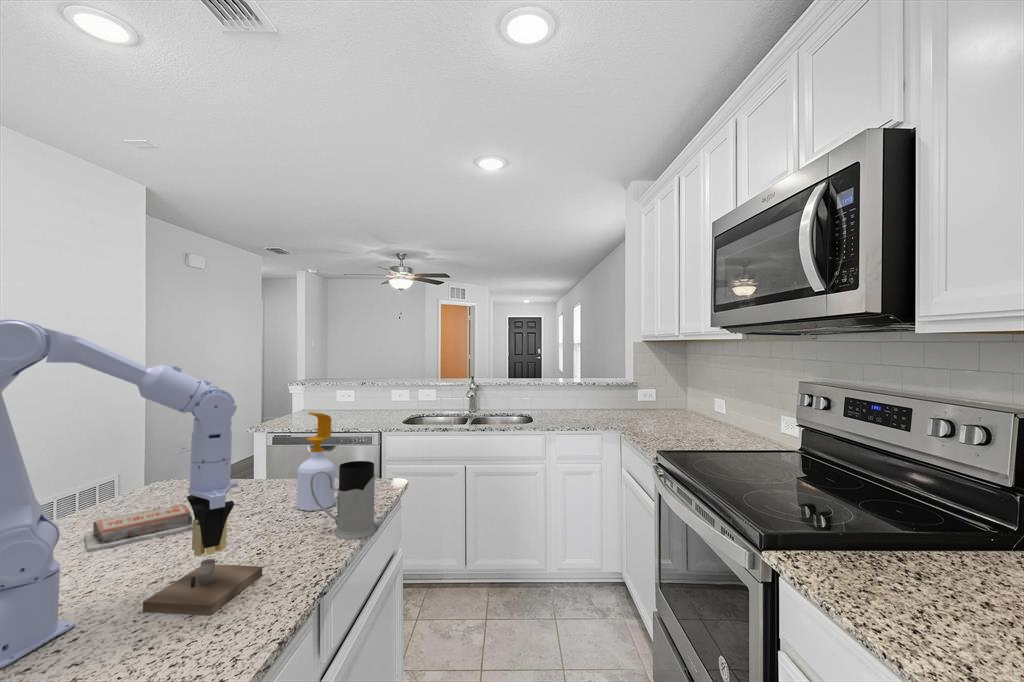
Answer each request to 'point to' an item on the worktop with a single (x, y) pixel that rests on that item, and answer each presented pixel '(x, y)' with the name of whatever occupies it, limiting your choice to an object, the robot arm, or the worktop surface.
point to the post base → (203, 589)
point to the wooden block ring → (198, 544)
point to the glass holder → (353, 500)
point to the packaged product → (138, 527)
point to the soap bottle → (315, 465)
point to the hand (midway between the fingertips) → (208, 541)
